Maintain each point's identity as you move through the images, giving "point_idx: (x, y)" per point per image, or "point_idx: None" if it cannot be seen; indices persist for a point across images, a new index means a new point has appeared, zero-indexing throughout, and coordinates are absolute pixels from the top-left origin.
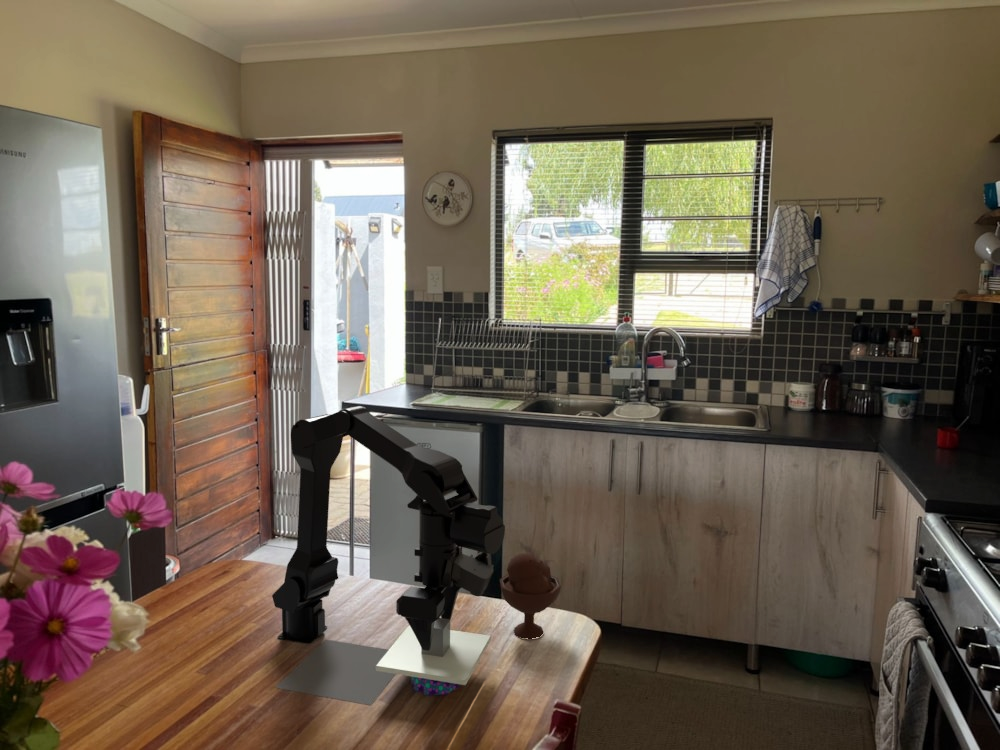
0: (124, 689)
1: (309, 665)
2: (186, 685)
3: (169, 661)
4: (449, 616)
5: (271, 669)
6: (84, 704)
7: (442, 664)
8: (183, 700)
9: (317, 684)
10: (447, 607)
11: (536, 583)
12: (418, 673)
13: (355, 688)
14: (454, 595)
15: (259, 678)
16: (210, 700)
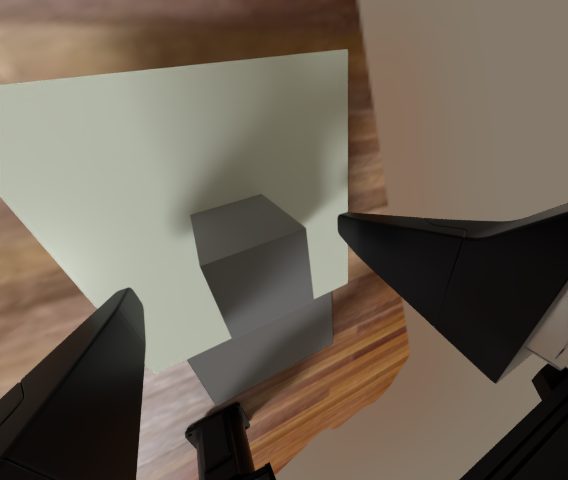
0: (361, 393)
1: (281, 362)
2: (346, 381)
3: (322, 416)
4: (123, 307)
5: (300, 374)
6: (380, 386)
7: (296, 171)
8: (363, 364)
9: (312, 324)
10: (113, 357)
11: None
12: (345, 201)
13: None
14: (31, 437)
15: (318, 365)
16: (359, 354)
